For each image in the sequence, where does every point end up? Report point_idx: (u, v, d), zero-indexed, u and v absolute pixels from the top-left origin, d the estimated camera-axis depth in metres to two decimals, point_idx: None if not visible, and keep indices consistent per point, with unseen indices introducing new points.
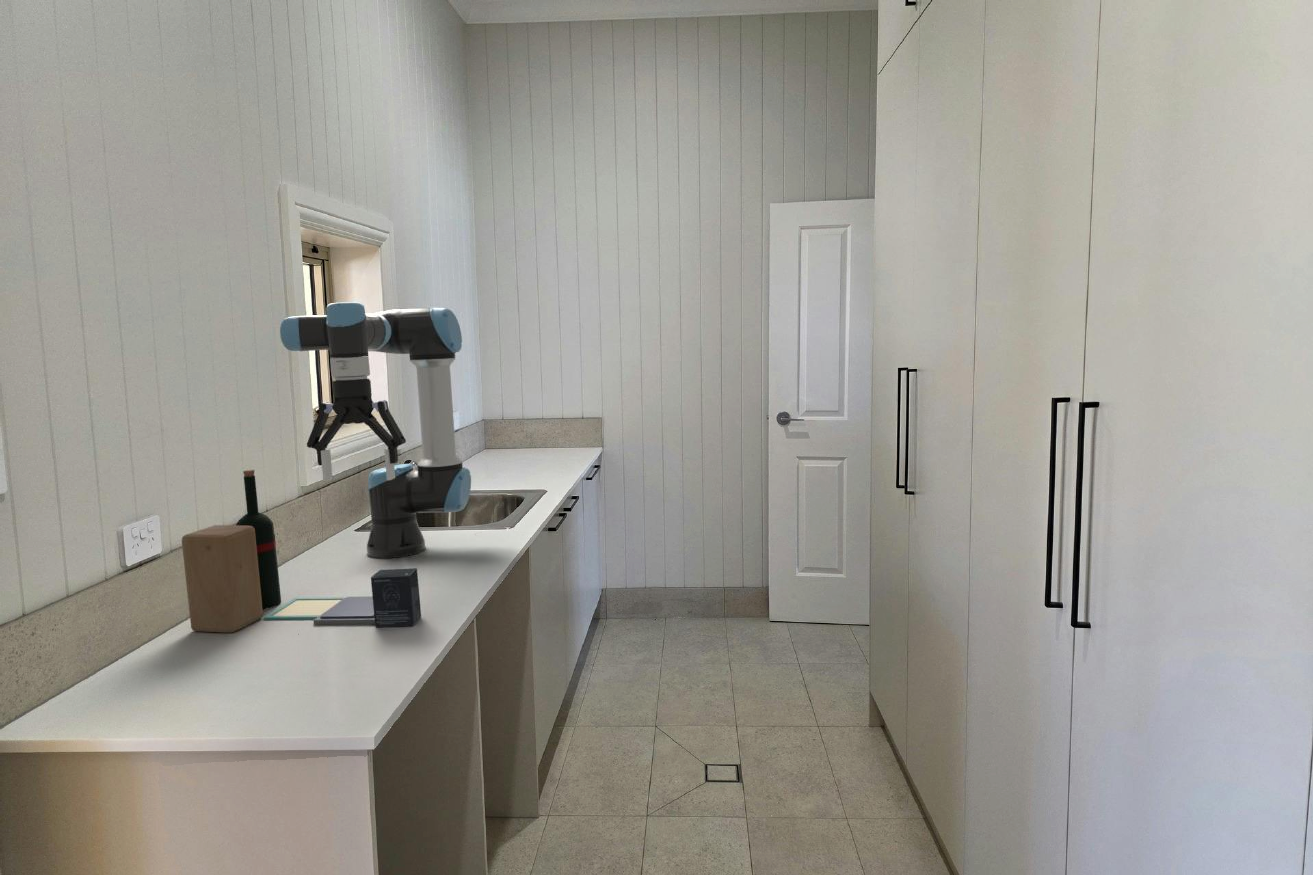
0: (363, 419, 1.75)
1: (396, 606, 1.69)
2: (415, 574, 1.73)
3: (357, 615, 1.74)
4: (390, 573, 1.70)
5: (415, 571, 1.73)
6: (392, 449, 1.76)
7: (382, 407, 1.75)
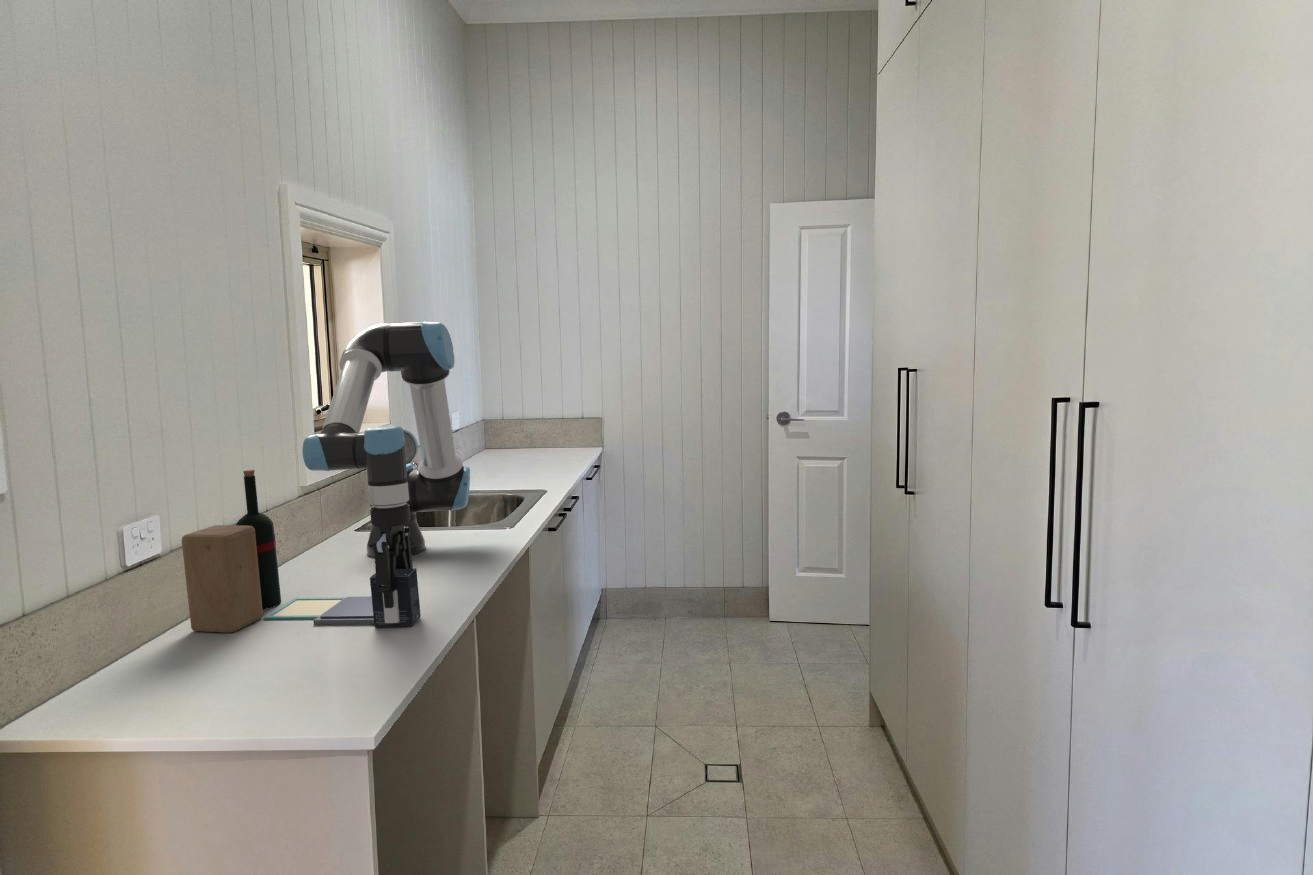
0: None
1: None
2: (415, 574, 1.72)
3: (357, 615, 1.74)
4: None
5: (414, 571, 1.72)
6: None
7: None
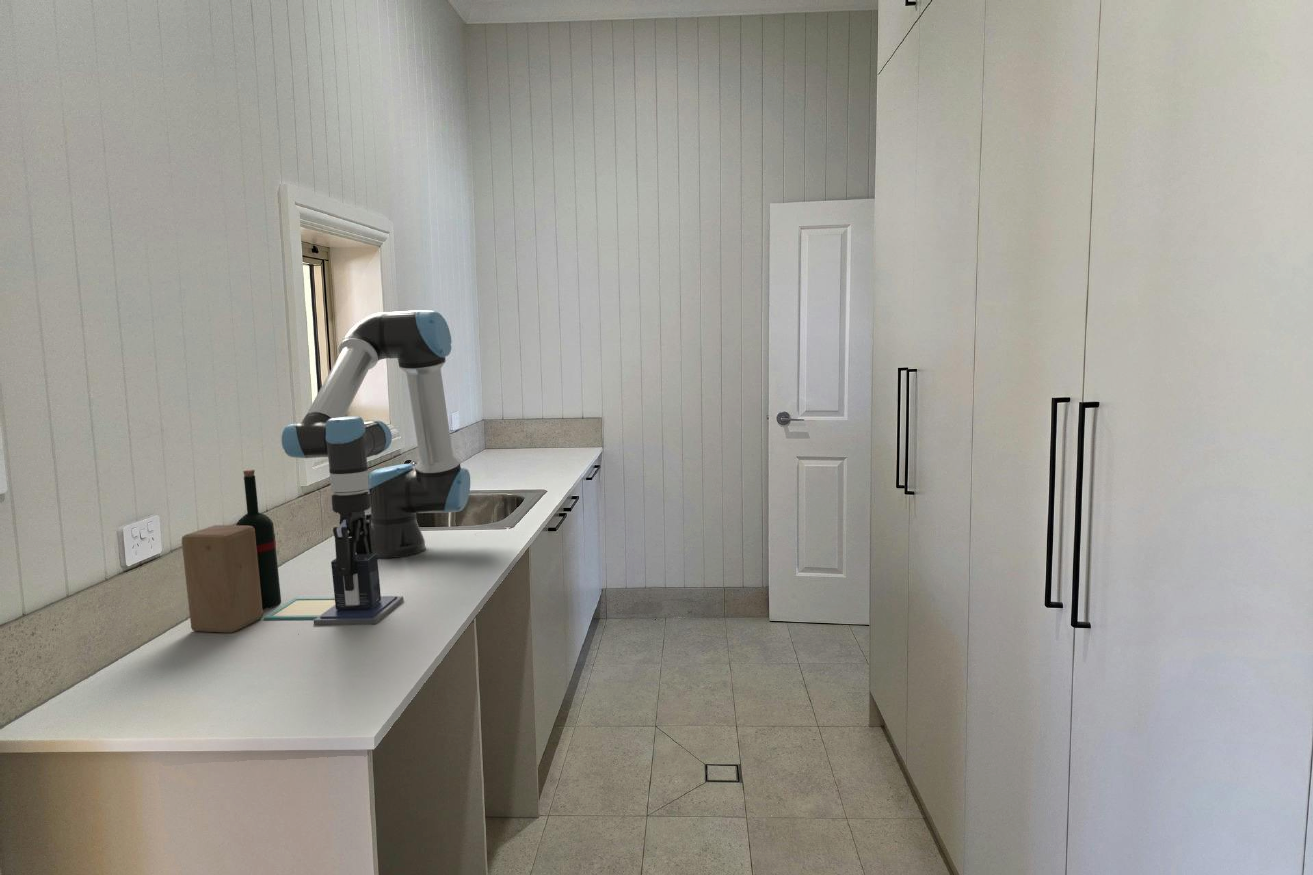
0: None
1: None
2: (375, 558, 1.80)
3: (357, 615, 1.74)
4: None
5: (374, 556, 1.80)
6: None
7: None
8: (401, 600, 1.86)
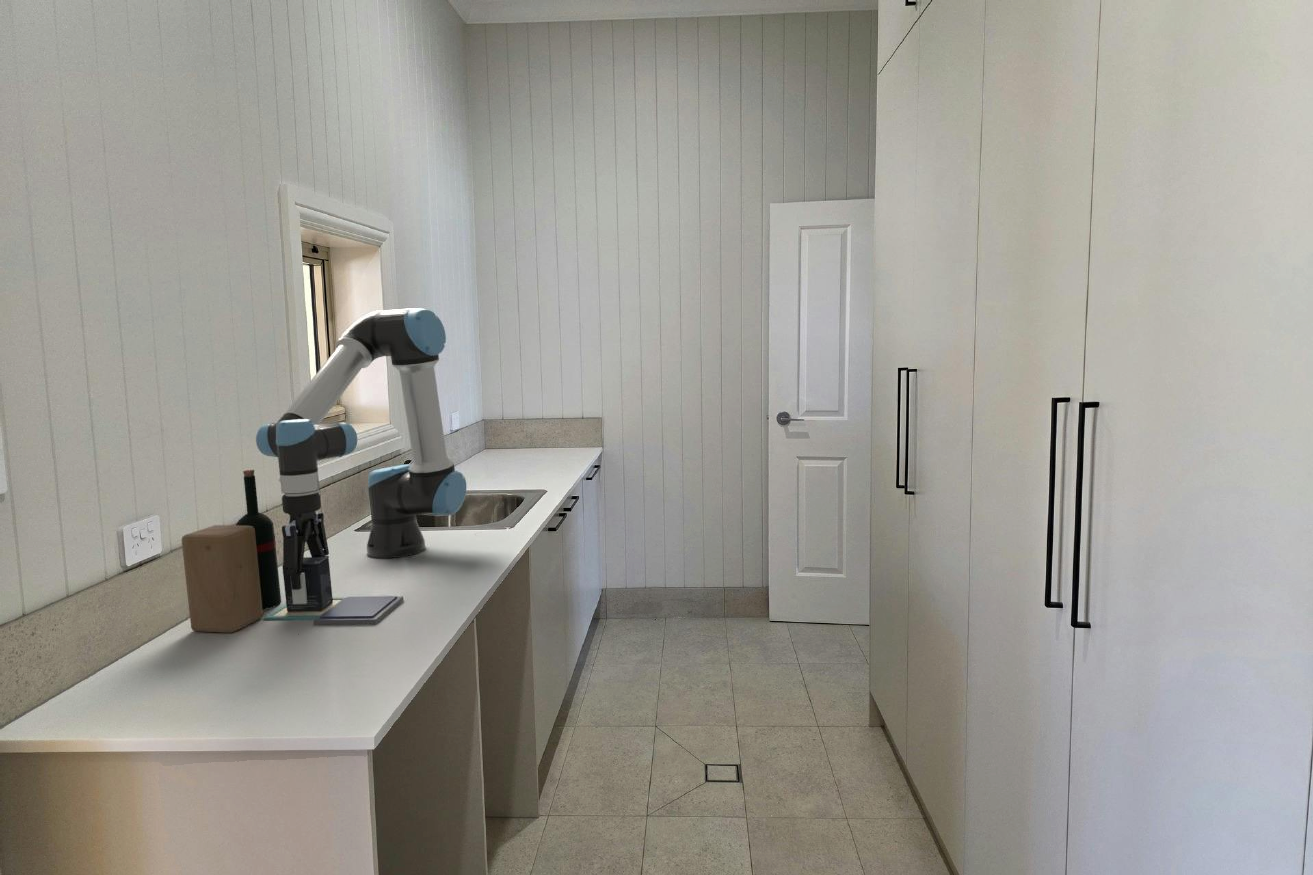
0: None
1: None
2: (326, 562, 1.84)
3: (357, 615, 1.74)
4: None
5: (326, 559, 1.83)
6: None
7: None
8: (401, 600, 1.86)
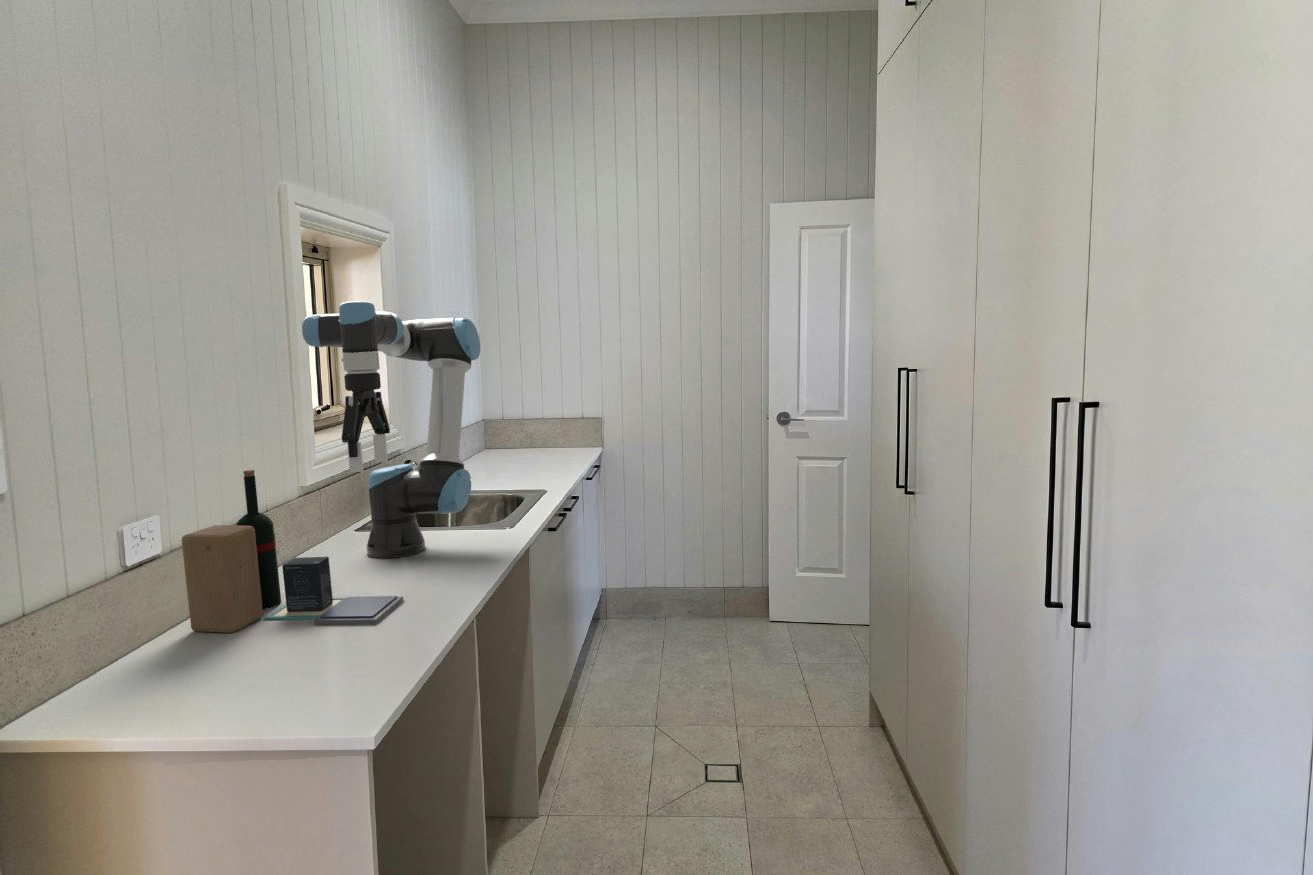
0: None
1: (306, 591, 1.80)
2: (326, 562, 1.84)
3: (357, 615, 1.74)
4: (301, 561, 1.81)
5: (326, 559, 1.84)
6: None
7: None
8: (401, 600, 1.86)
